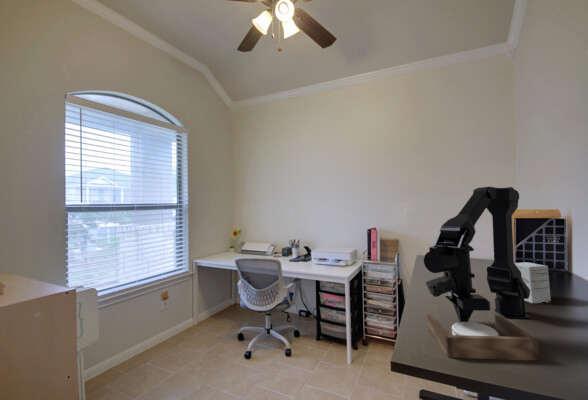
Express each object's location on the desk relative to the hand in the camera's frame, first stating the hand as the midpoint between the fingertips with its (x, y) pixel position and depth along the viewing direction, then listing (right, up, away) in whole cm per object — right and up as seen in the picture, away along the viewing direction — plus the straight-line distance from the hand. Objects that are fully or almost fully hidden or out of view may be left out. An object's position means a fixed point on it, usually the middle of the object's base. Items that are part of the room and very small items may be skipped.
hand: (463, 325), depth 75 cm
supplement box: (+38, -1, +22) cm, 44 cm away
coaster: (-1, -2, -6) cm, 6 cm away
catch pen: (-1, -1, -7) cm, 7 cm away
